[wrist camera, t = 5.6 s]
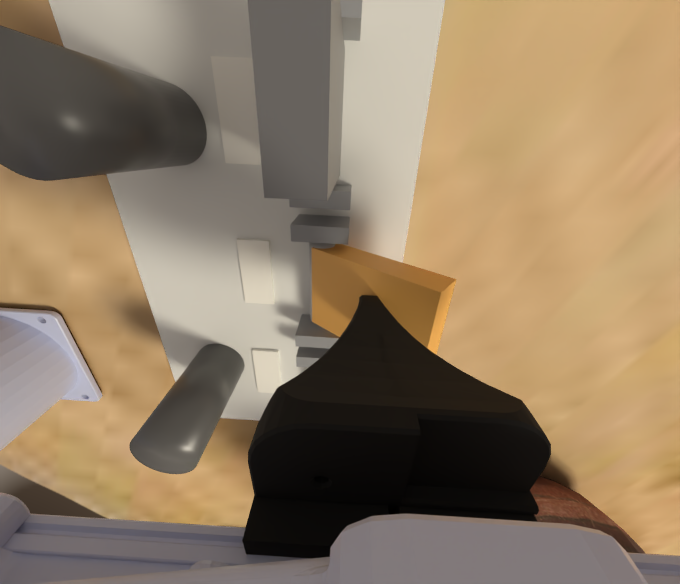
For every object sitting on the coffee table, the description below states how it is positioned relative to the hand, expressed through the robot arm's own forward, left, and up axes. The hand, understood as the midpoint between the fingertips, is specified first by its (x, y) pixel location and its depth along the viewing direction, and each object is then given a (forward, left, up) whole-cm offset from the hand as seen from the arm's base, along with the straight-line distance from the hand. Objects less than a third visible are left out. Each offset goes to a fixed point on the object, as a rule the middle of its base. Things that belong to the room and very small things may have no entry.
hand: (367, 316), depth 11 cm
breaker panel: (-5, 0, -5) cm, 7 cm away
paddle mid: (-2, 0, -3) cm, 4 cm away
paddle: (-2, +7, -3) cm, 8 cm away
